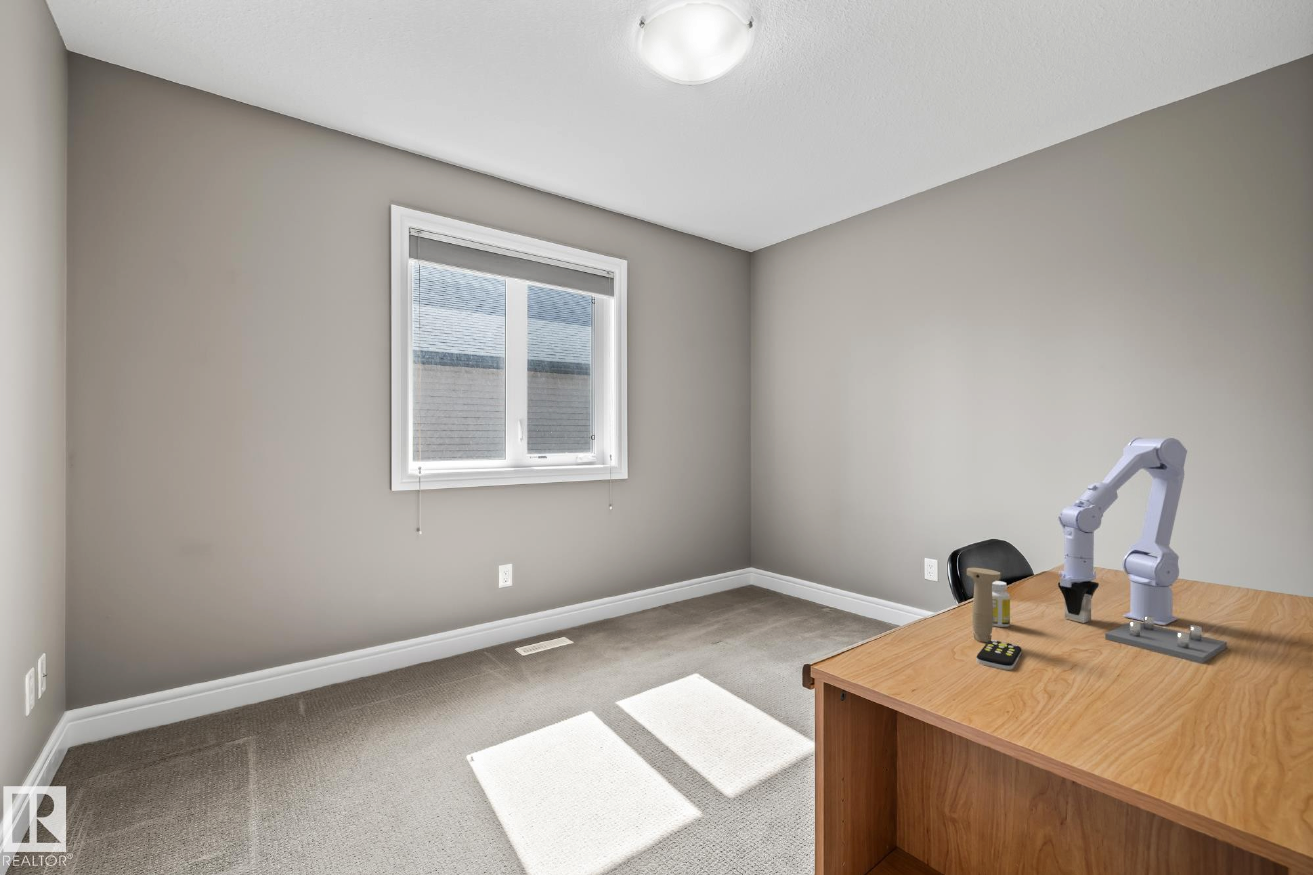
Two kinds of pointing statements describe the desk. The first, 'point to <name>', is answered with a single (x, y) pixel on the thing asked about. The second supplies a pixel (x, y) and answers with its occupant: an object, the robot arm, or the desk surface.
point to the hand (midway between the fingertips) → (1077, 612)
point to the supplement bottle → (1000, 604)
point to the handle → (982, 602)
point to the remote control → (999, 655)
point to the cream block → (1084, 613)
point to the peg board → (1167, 640)
